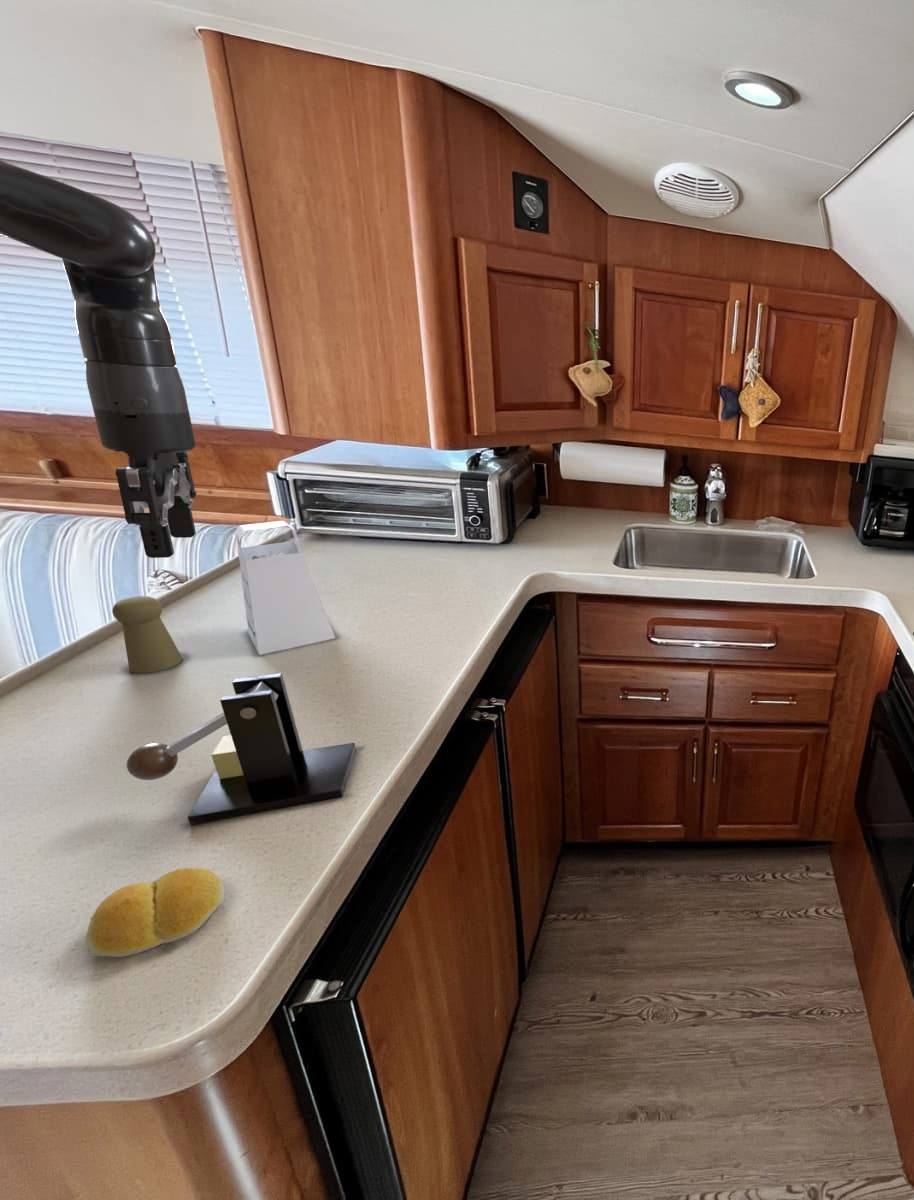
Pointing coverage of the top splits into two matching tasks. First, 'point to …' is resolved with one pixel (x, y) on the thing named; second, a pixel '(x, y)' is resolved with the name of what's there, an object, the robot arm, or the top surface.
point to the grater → (280, 595)
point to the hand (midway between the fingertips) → (172, 546)
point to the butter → (226, 759)
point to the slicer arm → (174, 747)
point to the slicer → (270, 758)
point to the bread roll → (153, 912)
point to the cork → (146, 635)
